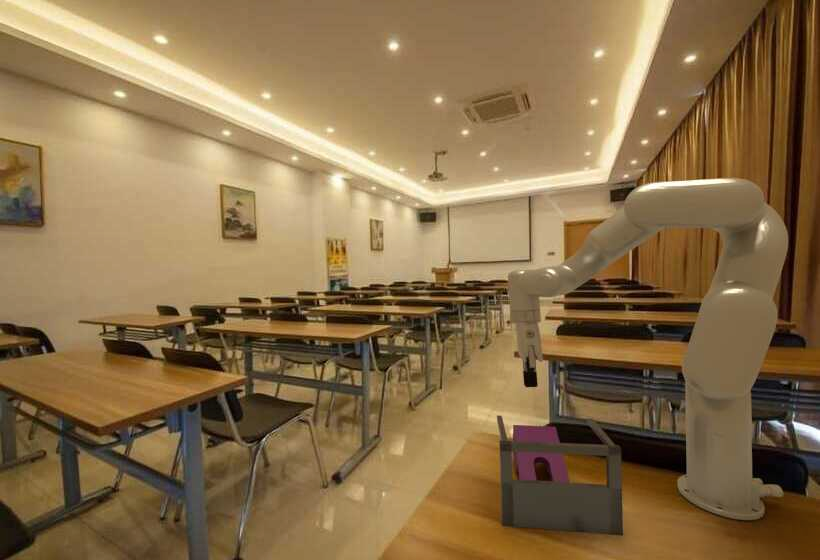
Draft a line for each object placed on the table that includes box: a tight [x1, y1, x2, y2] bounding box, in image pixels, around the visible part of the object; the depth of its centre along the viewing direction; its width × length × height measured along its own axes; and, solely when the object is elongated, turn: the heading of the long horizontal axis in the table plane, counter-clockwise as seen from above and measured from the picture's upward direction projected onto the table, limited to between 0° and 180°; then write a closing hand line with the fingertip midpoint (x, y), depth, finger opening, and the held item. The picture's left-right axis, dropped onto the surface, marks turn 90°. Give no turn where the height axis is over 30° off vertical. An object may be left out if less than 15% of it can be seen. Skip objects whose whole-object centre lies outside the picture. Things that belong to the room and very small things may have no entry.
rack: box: [496, 415, 624, 536], centre depth 66 cm, size 20×12×15 cm, turn 81°
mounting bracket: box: [512, 424, 571, 483], centre depth 75 cm, size 9×8×18 cm
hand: (530, 386), depth 91 cm, fingers closed
